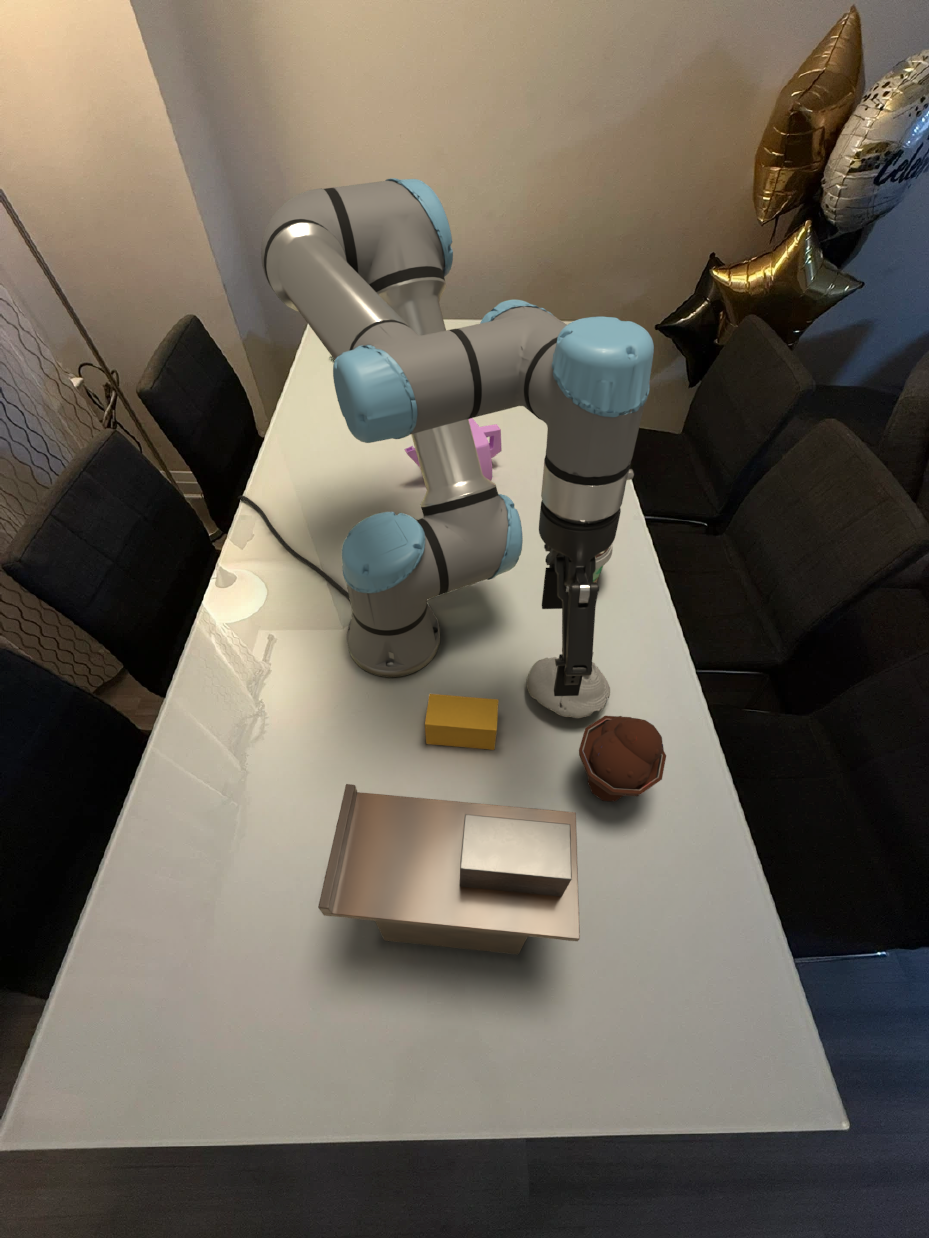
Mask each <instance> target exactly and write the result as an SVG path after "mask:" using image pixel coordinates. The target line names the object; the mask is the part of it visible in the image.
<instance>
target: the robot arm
mask: <svg viewBox="0 0 929 1238" xmlns="http://www.w3.org/2000/svg"><path fill="white" fill-rule="evenodd" d="M452 244H453V236H452V230H451V227H450V223H449V220H448V217H447V214H446V211H445V208H444V206H443V204H442V202H441V200H440V198H439V197H438V195H437V193H436V192H435V191H434V189H432V187H431V186H430V185H428V184H427V183H425V182H424V181H422V180H421V179H418V178H404V179H399V178H394V177H390V178H386V179H385V180H382V181H374V182H365V183H357V184H350V185H342V186H333V187H326V188H314V189H308V190H306V191H303V192H301V193H298V194H296V195H295V196H293V197H291V198H289V199H288V200H287V201H286V202H284V203H283V204H282V205H281V206H280V207H279V208H278V209H277V210H276V211H275V213H274V214H273V215H272V217H271V218H270V220H269V221H268V223H267V226H266V227H265V230H264V233H263V236H262V242H261V248H260V257H261V266H262V270H263V273H264V276H265V279H266V281H267V283H268V285H269V286H270V288H271V289H272V291H273V292H274V294H275V295H276V296H277V298H278V299H279V300H280V301H281V302H282V303H283V304H284V305H285V306H287V307H288V308H290V309H291V310H293V311H295V312H298V313H300V315H301V316H302V318H303V319H304V321H306V323H307V324H308V326H309V327H310V328H311V330H312V331H313V333H314V334H315V336H316V337H317V338H318V339H319V341H320V342H321V343H322V345H323V346H324V347H325V349H326V350H327V352H328V353H329V355H330V356H331V357H332V358H333V360H334V361H333V364H332V377H333V384H334V385H333V386H334V390H335V394H336V395H335V396H336V399H337V402H338V405H339V409H340V412H341V414H342V417H343V418H344V419H345V420H344V421H345V424H346V426H347V429H348V431H349V432H350V434H351V435H352V436H353V437H354V438H355V439H356V440H358V441H359V442H361V443H365V444H371V443H375V442H382V441H388V440H402V439H404V438H406V437H408V436H410V435H411V439H412V443H413V447H414V448H415V450H416V454H417V457H418V461H419V464H420V467H419V468H420V470H421V471H420V472H421V476H422V478H423V482H424V486H425V489H426V491H425V495H424V497H423V499H422V501H421V502H420V504H419V505H420V509H421V513H422V517H421V518H419V519H415V517H413V516H411V515H409V514H406V513H404V512H399V513H398V514H396V513H395V511H384V512H378V513H374V514H372V515H370V516H368V517H364V518H363V519H362V520H360V521H358V522H357V523H356V524H355V525H354V526H353V527H352V528H351V529H350V530H349V531H348V533H347V535H346V537H345V538H344V540H343V542H342V546H341V562H342V563H341V564H342V566H341V571H342V576H343V579H344V581H345V583H346V589H347V590H346V589H345V588H343V586H341V585H340V584H339V583H337V582H336V581H335V580H334V579H333V578H332V577H331V576H329V574H327V573H326V572H325V571H324V570H323V569H321V568H320V567H318V566H317V565H316V564H314V563H313V562H311V561H310V560H309V559H307V558H305V557H304V556H303V555H301V554H300V553H298V552H297V551H296V550H295V549H293V548H292V547H291V546H290V545H289V544H288V543H287V542H286V541H285V540H284V539H283V537H282V536H281V534H280V533H279V532H278V531H277V530H276V529H275V527H274V526H273V525H272V523H271V522H270V520H269V518H268V516H267V514H266V513H265V512H264V511H263V509H262V508H261V507H260V506H259V505H257V504H256V503H255V502H254V501H253V500H252V499H250V498H249V497H248V496H245V495H238V497H237V500H243V501H245V502H247V503H248V504H249V505H250V506H252V508H254V509H255V510H256V511H257V512H258V513H259V514H260V515H261V517H262V518H263V520H264V522H265V524H266V525H267V527H268V528H269V529H270V531H271V532H272V533H273V535H274V536H275V537H276V539H277V540H278V541H279V542H280V544H281V545H282V546H283V547H284V548H285V549H286V550H287V551H288V552H289V553H291V555H293V556H294V557H295V558H296V559H298V560H299V561H301V562H303V563H304V564H306V565H307V566H309V567H310V568H311V569H312V570H314V571H316V572H317V573H318V574H319V575H321V576H322V577H323V578H325V580H327V582H329V583H330V584H331V585H332V586H333V587H335V588H336V589H337V590H338V591H339V592H340V593H341V594H343V595H344V596H345V597H346V598H348V599H349V602H350V606H351V611H352V613H351V619H350V621H349V623H348V627H347V631H346V643H347V648H348V652H349V654H350V657H351V659H352V660H353V661H354V663H355V664H356V665H357V666H358V667H359V668H361V669H362V670H363V671H365V672H367V673H368V674H371V675H374V676H378V677H383V678H400V677H406V676H408V675H412V674H414V673H416V672H418V671H420V670H421V669H423V668H424V667H426V666H427V665H428V664H429V663H431V661H432V660H433V659H434V657H435V656H436V654H437V652H438V650H439V647H440V644H441V643H440V642H441V629H440V623H439V621H438V618H437V617H436V615H435V613H434V611H433V610H432V608H431V606H430V604H429V603H428V600H431V599H434V598H436V597H440V596H442V595H445V594H446V595H447V594H449V593H452V592H454V591H456V590H459V589H463V588H465V587H468V586H471V585H474V584H477V583H480V582H483V581H485V580H487V581H489V580H493V579H494V578H496V577H497V576H499V575H502V574H505V573H506V572H509V571H510V570H512V569H513V568H514V567H515V566H517V564H518V562H519V561H520V556H521V554H522V551H523V541H524V540H523V537H524V536H523V527H522V522H521V517H520V514H519V511H518V509H517V508H515V503H514V501H513V500H512V498H511V497H509V496H508V495H506V494H502V493H499V492H498V488H497V484H496V483H495V482H494V481H492V480H491V481H490V480H488V479H487V478H485V477H484V476H483V474H482V470H481V466H480V462H479V458H478V454H477V450H476V446H475V442H474V438H473V435H472V431H471V427H470V423H469V419H471V418H473V419H474V418H477V417H478V418H479V417H482V416H486V415H490V414H494V413H498V412H502V411H505V410H510V409H513V408H517V407H523V408H525V409H526V410H527V411H529V412H530V413H531V414H532V415H533V416H535V417H536V419H539V420H540V421H542V422H543V423H545V424H546V429H547V430H546V431H547V433H546V446H545V447H546V448H545V455H544V459H543V469H542V470H543V471H542V480H541V481H542V482H541V493H540V497H541V501H540V509H539V520H538V534H539V537H540V538H541V540H542V542H543V543H544V545H543V549H544V551H545V552H546V553H547V552H548V553H547V555H546V556H545V565H546V566H548V567H545V569H544V580H543V588H542V589H543V590H542V597H541V609H542V610H561V653H560V654H558V658H559V659H555V665H556V666H558V667H557V673H556V679H555V685H554V696H578V695H579V691H580V686H581V681H582V677H583V676H585V675H591V674H592V662H593V657H592V656H594V653H593V652H594V638H595V623H596V608H597V607H596V606H597V600H598V593H599V592H600V587H599V584H598V582H597V583H593V574H594V572H595V570H596V559H595V556H596V555H598V554H599V553H601V552H603V551H605V550H606V549H607V548H609V547H610V546H611V544H612V545H613V543H614V541H615V539H616V536H617V531H618V526H619V521H620V518H621V513H622V511H621V510H622V509H621V507H622V505H623V501H624V496H625V491H626V485H627V481H630V480H633V478H634V476H635V472H634V470H633V469H632V468H631V467H632V466H631V465H632V459H633V456H634V452H635V447H636V443H637V438H638V435H639V431H640V430H639V429H640V426H641V421H642V417H643V413H644V408H645V405H646V402H647V401H648V397H649V394H650V390H651V389H650V388H651V385H650V380H651V373H652V367H653V360H654V351H655V349H654V348H655V346H654V345H655V344H654V341H653V338H652V336H651V334H650V333H649V332H648V330H647V329H645V328H644V327H643V326H641V325H640V324H637V323H636V322H634V321H630V320H626V321H625V320H621V319H619V318H617V317H613V316H588V317H582V318H579V319H575V320H573V321H571V322H570V323H566V322H564V321H562V320H561V319H559V318H558V317H556V316H555V315H554V314H553V313H551V311H548V310H546V309H545V308H544V307H539V306H538V305H537V304H532V303H529V302H528V301H525V300H522V299H508V300H504V301H501V302H499V303H498V304H496V306H494V307H493V308H492V309H491V310H490V311H489V312H487V313H486V314H484V316H483V317H482V319H481V321H480V322H479V323H476V324H471V325H466V326H463V327H457V328H451V329H447V328H446V324H445V321H444V317H443V312H442V309H441V304H440V301H441V298H442V296H443V294H444V292H445V290H446V288H447V283H446V279H445V277H447V276H448V274H449V273H450V271H451V270H452V266H453V260H454V250H453V248H452ZM568 587H569V590H568V589H567V588H568Z"/></svg>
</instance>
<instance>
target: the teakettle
mask: <svg viewBox="0 0 929 1238" xmlns="http://www.w3.org/2000/svg"><path fill="white" fill-rule="evenodd" d="M469 423H470V427H471V431H472V435H473V438H474V442H475V446H476V450H477V454H478V458H479V462H480V466H481V470H482V474H483V476H484V477H485V478H487V479H488V480H490V481H492V480H493V458H495V457H496V456H497V455H498V454H499V453H501V452H502V451H503V450H502V430H501V428H500V426H499V425H498V423H495V424H489V425H488V424H487V425H483V426H480V425H479V424H478V423H477V422H476V421H475V419H474V418H471V419H469ZM488 438H489V439H488ZM404 452H405V453H406V455H407V456H408V457H409V458H410V459H411V460H412V461H413V462H414V464H416V465H417V467H419V468H420V464H419V461H418V457H417V454H416V450H415V446H414V445H410V446H408V447H406V448H404Z"/></svg>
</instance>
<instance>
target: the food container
mask: <svg viewBox="0 0 929 1238" xmlns="http://www.w3.org/2000/svg"><path fill="white" fill-rule="evenodd" d="M613 547H614V546H613V543H612V544H611V546H610V547H609V548H607V549H606V550H605V551H603V552H601V553H599V554H598V555H596V556H595V559H596V570H595V572H594V574H593V583H597V584H598V580H599V577H600V576H601V574H602V570H603V567H604V566H605V565H606V564H607V563H608V562H610V560H611V558H612V556H613V551H614V549H613ZM568 590H569V587H568V586H567V591H568Z"/></svg>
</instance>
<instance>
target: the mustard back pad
mask: <svg viewBox="0 0 929 1238" xmlns="http://www.w3.org/2000/svg"><path fill="white" fill-rule="evenodd" d="M427 699H428V701H427V705H426V707H427V708H426V713H425V720H424V730H425V744H426V745H433V746H444V747H445V746H446V747H455V748H468V749H478V750H479V749H480V750H490V751H494V750H495V749H496V748H495V747H496V739H497V732H498V719H499V718H498V717H499V701H500V700H499V699H497V698H487V697H486V698H485V697H475V696H474V697H473V696H464V695H463V696H462V695H450V694H439V693H429V694H428V698H427Z"/></svg>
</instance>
